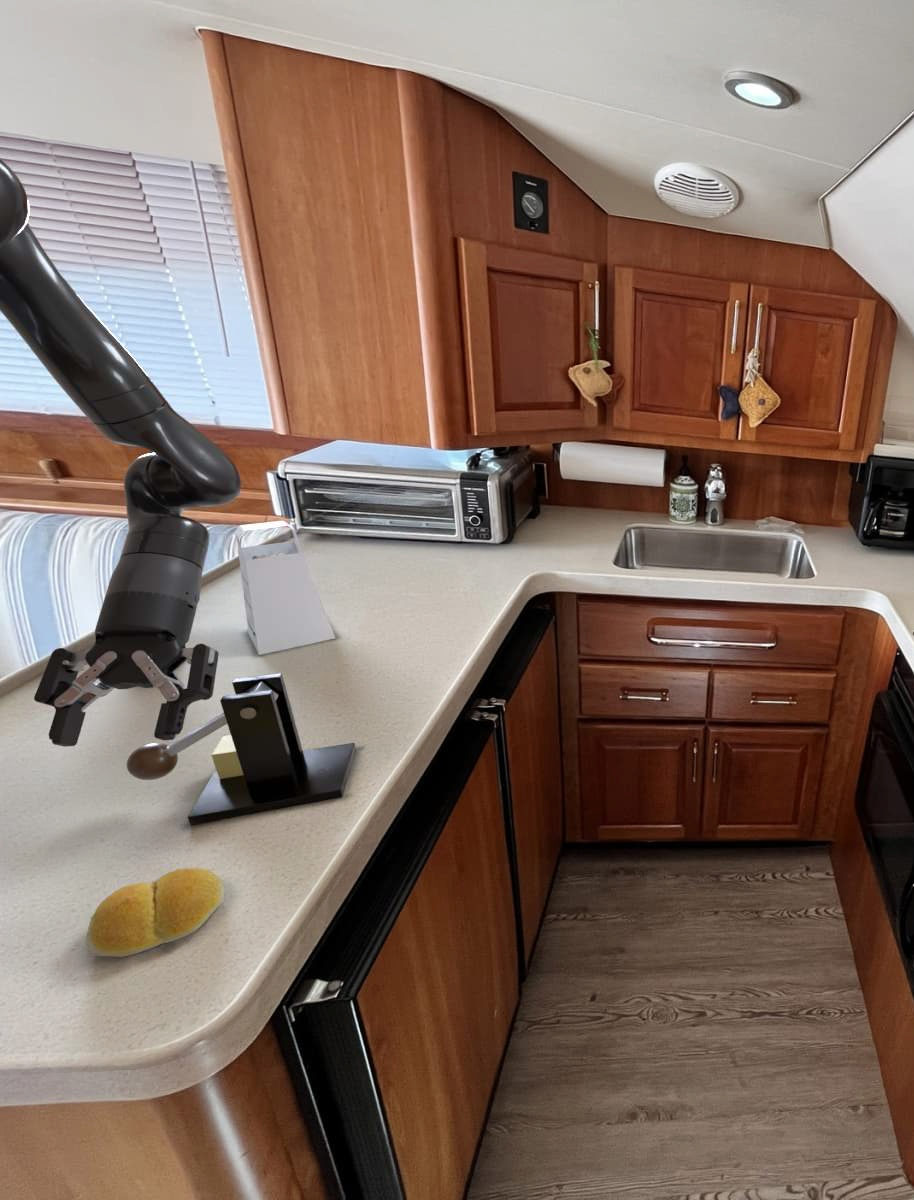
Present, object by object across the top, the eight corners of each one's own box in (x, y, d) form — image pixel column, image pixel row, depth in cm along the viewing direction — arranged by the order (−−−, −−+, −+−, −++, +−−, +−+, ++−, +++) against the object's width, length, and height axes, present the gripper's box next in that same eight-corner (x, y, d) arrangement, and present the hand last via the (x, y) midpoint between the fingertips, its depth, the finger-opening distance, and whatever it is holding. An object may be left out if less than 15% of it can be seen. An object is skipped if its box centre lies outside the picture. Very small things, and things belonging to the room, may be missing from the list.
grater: (248, 632, 111) (217, 522, 103) (320, 618, 118) (296, 513, 110) (259, 655, 104) (226, 538, 96) (335, 638, 111) (310, 528, 104)
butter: (219, 779, 75) (211, 755, 74) (230, 759, 79) (222, 736, 77) (261, 772, 77) (254, 748, 76) (270, 753, 80) (263, 730, 79)
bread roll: (227, 925, 59) (215, 894, 58) (88, 977, 54) (71, 944, 52) (227, 869, 65) (217, 839, 64) (102, 911, 60) (87, 879, 58)
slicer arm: (144, 793, 70) (108, 772, 67) (159, 771, 73) (126, 750, 71) (277, 713, 72) (247, 689, 70) (286, 695, 75) (258, 672, 73)
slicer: (190, 826, 70) (151, 720, 65) (221, 771, 78) (188, 674, 73) (342, 797, 76) (317, 698, 70) (356, 749, 84) (335, 658, 79)
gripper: (47, 589, 68) (-5, 741, 62) (208, 587, 72) (174, 730, 66) (99, 614, 74) (57, 753, 69) (244, 611, 78) (216, 743, 72)
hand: (114, 742), depth 67 cm, fingers open, 8 cm apart
